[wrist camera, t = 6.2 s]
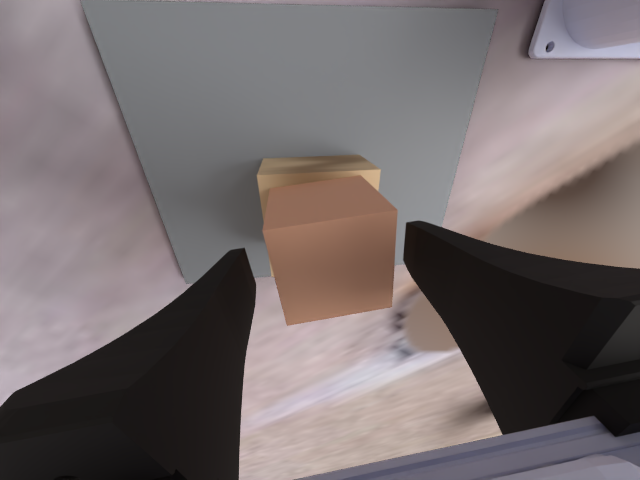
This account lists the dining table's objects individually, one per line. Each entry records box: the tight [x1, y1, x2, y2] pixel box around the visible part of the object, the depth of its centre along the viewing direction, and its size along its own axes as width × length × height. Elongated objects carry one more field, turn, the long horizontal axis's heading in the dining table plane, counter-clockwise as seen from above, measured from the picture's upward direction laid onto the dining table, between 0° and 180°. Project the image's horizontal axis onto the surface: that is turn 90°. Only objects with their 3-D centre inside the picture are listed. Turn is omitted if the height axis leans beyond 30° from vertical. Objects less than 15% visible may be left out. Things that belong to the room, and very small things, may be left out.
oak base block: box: [257, 155, 381, 277], centre depth 15 cm, size 6×6×4 cm
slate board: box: [80, 0, 498, 284], centre depth 16 cm, size 20×16×1 cm
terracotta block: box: [262, 175, 398, 326], centre depth 11 cm, size 4×4×4 cm
